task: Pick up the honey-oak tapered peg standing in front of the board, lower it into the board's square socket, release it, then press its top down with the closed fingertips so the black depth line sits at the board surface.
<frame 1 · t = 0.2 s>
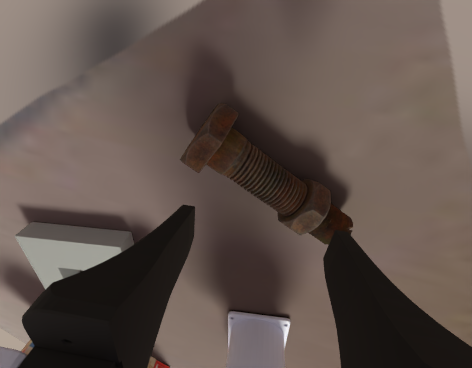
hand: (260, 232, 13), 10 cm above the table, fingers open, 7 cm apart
board: (97, 268, 33), on the table
bolt: (274, 172, 23), on the table
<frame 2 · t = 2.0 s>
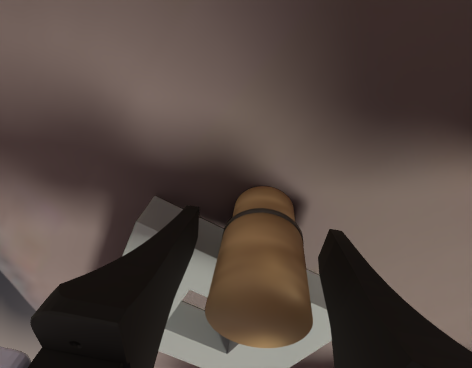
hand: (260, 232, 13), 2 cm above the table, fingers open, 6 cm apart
board: (216, 293, 19), on the table
peg: (263, 211, 15), on the table
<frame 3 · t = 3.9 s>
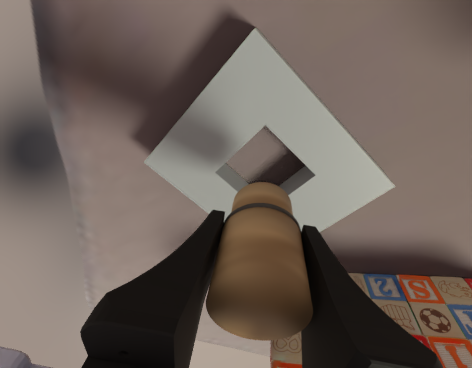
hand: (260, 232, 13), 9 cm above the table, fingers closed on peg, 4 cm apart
board: (265, 159, 21), on the table
stack of blocks: (372, 290, 28), on the table
peg: (261, 207, 15), point 7 cm above the table, touching gripper
when the fingers open (3 cm above the table, at t = 5.7 s): peg stays where it is, resting in board.
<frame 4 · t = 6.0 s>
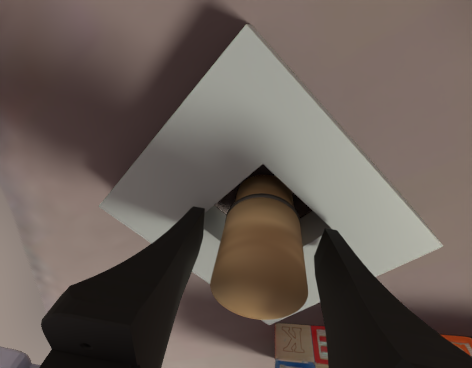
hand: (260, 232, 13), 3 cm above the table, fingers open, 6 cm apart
board: (262, 199, 16), on the table
stack of blocks: (397, 348, 23), on the table
peg: (264, 198, 16), resting in board
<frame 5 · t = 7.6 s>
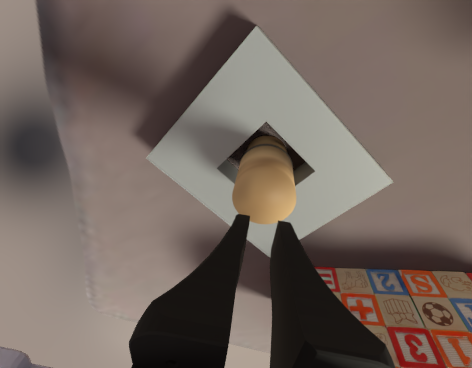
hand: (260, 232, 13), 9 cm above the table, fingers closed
board: (265, 156, 21), on the table
stack of blocks: (374, 285, 28), on the table
peg: (266, 155, 21), resting in board
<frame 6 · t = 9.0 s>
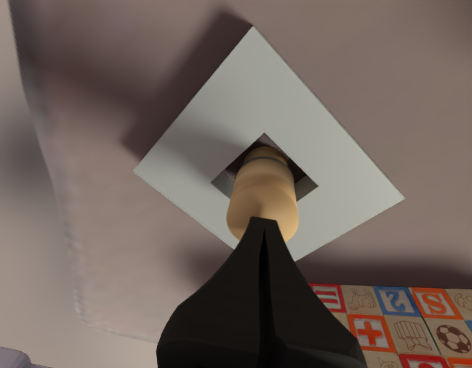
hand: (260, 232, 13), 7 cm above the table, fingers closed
board: (264, 168, 20), on the table
stack of blocks: (382, 303, 26), on the table
peg: (264, 167, 19), resting in board
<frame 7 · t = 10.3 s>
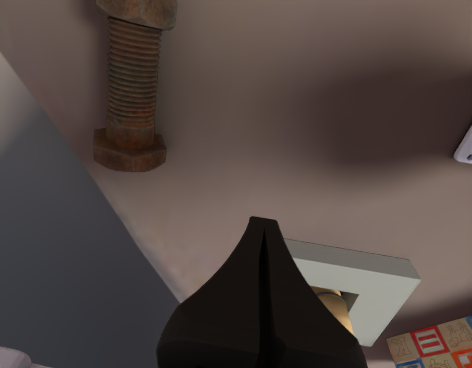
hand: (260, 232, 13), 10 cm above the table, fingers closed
board: (322, 285, 29), on the table
bolt: (151, 54, 19), on the table
peg: (322, 285, 29), resting in board
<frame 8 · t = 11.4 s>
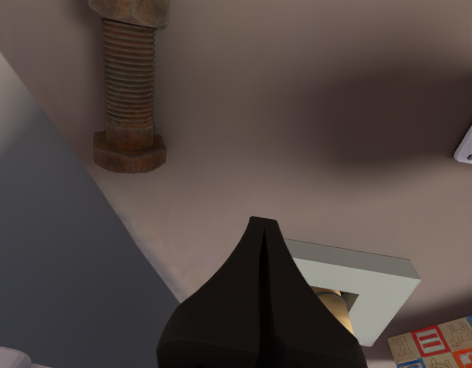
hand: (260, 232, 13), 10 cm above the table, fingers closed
board: (322, 285, 29), on the table
bolt: (147, 55, 19), on the table
peg: (322, 285, 29), resting in board
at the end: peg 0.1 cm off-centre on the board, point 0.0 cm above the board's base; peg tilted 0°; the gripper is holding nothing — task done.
